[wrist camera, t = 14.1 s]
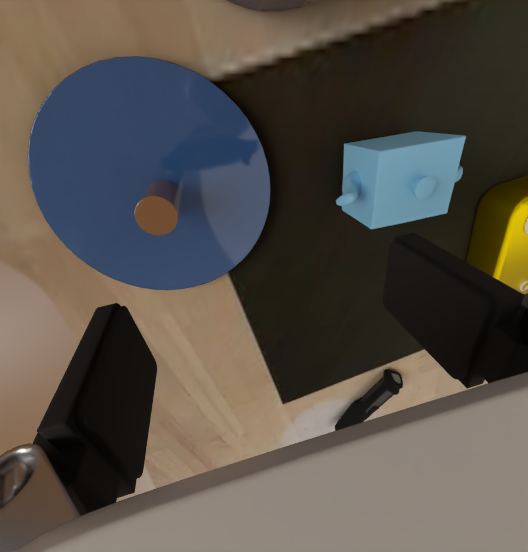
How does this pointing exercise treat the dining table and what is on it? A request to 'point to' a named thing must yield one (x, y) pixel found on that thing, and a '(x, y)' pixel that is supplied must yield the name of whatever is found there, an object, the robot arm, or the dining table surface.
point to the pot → (270, 4)
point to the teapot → (400, 177)
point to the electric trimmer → (372, 400)
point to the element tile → (502, 234)
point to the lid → (149, 173)
